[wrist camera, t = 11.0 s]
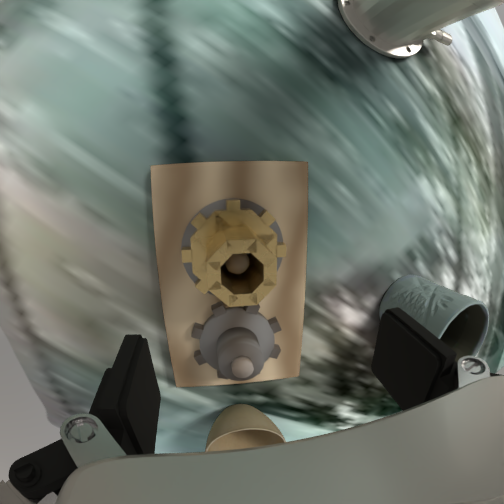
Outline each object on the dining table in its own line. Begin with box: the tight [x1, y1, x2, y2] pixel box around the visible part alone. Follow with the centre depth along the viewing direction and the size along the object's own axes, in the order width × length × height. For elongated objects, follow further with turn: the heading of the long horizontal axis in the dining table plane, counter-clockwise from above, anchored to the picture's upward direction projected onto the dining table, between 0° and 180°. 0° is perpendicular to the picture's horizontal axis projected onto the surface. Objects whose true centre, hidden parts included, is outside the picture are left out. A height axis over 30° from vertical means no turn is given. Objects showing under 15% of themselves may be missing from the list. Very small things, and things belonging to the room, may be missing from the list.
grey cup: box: [379, 275, 489, 363], centre depth 30 cm, size 10×10×12 cm
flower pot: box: [205, 404, 286, 452], centre depth 33 cm, size 10×10×7 cm
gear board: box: [151, 161, 308, 387], centre depth 28 cm, size 15×25×7 cm, turn 1°
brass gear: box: [181, 199, 286, 307], centre depth 26 cm, size 10×10×7 cm
